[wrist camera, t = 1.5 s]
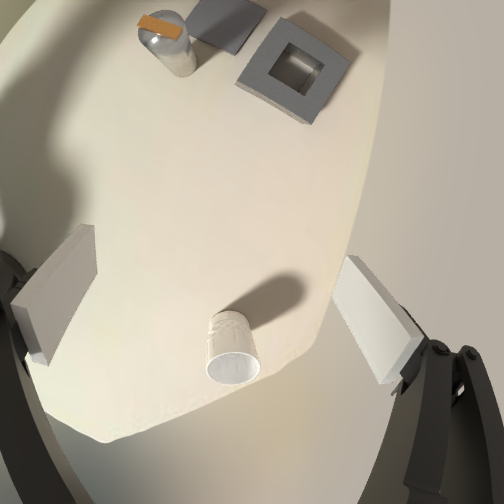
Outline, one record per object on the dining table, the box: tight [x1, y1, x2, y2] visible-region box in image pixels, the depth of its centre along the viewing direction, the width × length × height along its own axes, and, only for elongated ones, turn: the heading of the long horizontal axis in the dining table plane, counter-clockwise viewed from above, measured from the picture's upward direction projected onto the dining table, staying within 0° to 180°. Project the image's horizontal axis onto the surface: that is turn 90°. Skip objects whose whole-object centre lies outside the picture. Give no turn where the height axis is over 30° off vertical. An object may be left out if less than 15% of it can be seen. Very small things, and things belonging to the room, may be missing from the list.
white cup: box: [206, 311, 260, 385], centre depth 43 cm, size 8×8×10 cm
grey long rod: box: [137, 10, 197, 77], centre depth 21 cm, size 3×3×17 cm
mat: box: [184, 0, 267, 56], centre depth 26 cm, size 8×8×1 cm
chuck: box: [234, 17, 351, 125], centre depth 29 cm, size 10×10×4 cm
